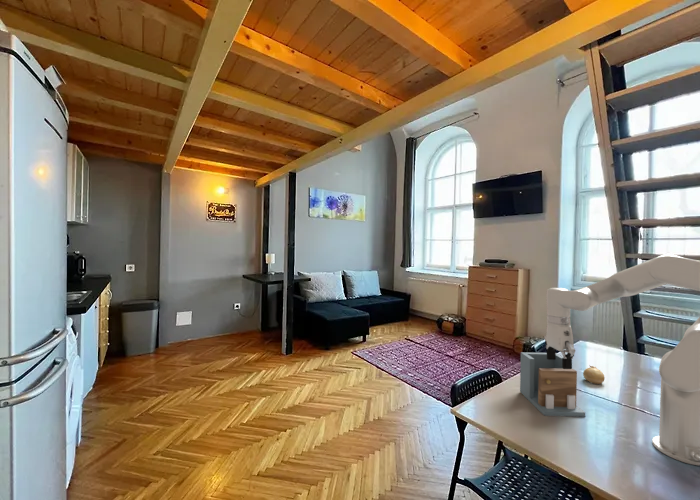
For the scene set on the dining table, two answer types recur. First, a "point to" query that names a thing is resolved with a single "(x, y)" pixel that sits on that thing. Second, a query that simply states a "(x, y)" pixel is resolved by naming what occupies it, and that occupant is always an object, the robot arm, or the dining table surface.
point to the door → (557, 385)
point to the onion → (593, 375)
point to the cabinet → (531, 380)
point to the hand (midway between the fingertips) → (558, 363)
